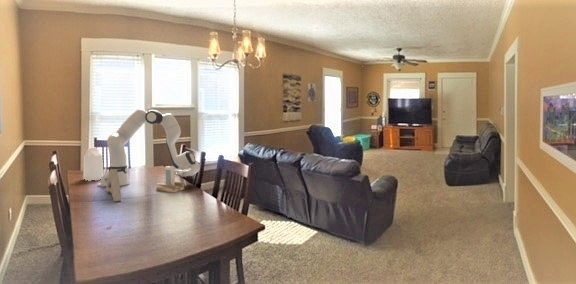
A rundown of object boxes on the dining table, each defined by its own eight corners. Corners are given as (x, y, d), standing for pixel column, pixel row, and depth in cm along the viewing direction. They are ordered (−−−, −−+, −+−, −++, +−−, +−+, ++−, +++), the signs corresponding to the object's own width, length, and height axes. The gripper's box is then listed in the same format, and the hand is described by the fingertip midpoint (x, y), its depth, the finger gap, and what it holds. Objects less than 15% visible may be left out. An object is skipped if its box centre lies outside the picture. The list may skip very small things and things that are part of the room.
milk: (98, 177, 336) (97, 146, 333) (104, 179, 328) (102, 147, 325) (83, 179, 327) (81, 147, 324) (88, 181, 319) (87, 148, 316)
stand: (166, 187, 297) (166, 181, 296) (184, 188, 290) (184, 182, 290) (156, 190, 287) (156, 183, 286) (174, 192, 280) (174, 185, 280)
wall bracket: (116, 217, 277) (121, 200, 254) (109, 218, 274) (114, 201, 252) (112, 188, 286) (117, 168, 263) (106, 188, 283) (109, 169, 261)
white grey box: (168, 186, 291) (168, 166, 290) (174, 187, 289) (174, 166, 287) (165, 187, 288) (164, 166, 286) (171, 188, 286) (170, 167, 284)
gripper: (172, 165, 305) (160, 168, 293) (194, 167, 297) (183, 170, 285) (172, 173, 306) (160, 177, 293) (195, 175, 298) (183, 179, 285)
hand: (171, 173), depth 289 cm, fingers open, 8 cm apart
